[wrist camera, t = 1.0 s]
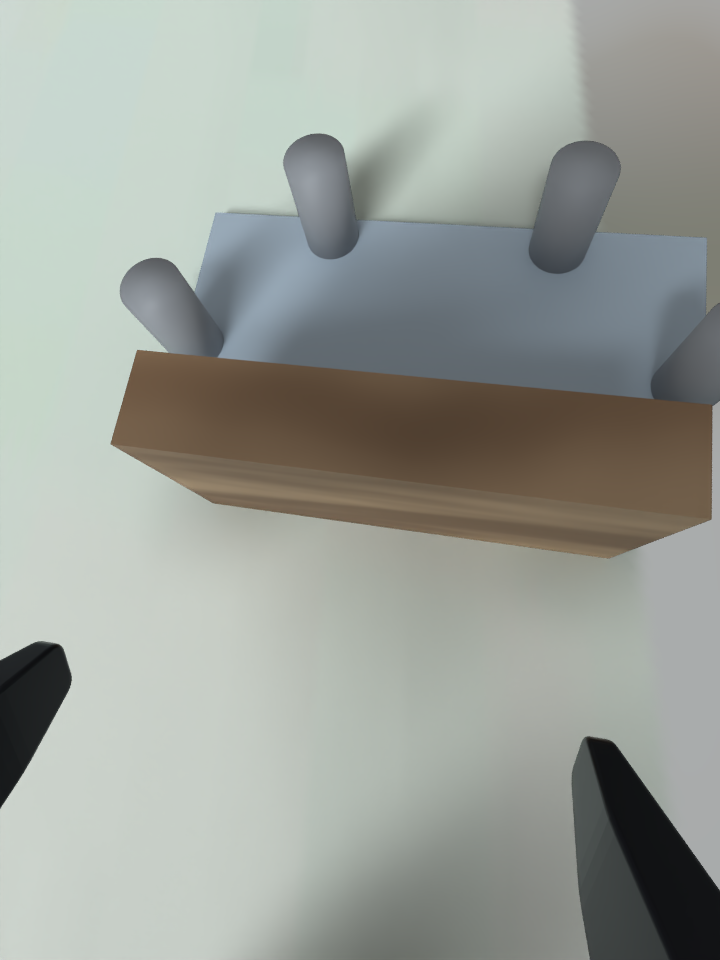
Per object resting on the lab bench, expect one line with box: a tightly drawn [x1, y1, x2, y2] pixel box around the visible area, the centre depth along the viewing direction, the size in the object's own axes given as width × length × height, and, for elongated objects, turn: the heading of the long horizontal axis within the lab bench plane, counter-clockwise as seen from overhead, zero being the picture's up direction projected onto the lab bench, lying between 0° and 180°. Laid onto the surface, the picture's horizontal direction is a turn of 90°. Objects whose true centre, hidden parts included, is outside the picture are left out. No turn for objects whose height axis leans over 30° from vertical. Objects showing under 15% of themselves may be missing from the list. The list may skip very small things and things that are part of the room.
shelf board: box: [111, 350, 712, 558], centre depth 19 cm, size 3×16×8 cm, turn 81°
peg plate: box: [120, 134, 720, 406], centre depth 22 cm, size 10×23×5 cm, turn 81°
